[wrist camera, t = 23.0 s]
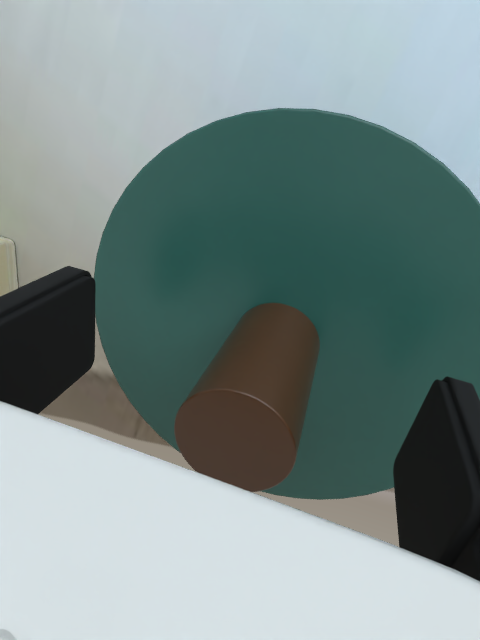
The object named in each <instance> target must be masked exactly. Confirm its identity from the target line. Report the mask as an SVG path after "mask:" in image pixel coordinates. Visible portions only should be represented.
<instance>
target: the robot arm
mask: <svg viewBox="0 0 480 640" xmlns="http://www.w3.org/2000/svg"><path fill="white" fill-rule="evenodd" d="M95 294H96V283H95V280H94V279H93V278H91V274H90V273H89V272H88V271H85V270H81V269H78V268H74V267H71V266H67V267H64V268H62V269H60V270H58V271H55V272H53V273H51V274H49V275H47V276H44V277H42V278H40V279H38V280H36V281H33V282H31V283H29V284H27V285H24V286H22V287H20V288H18V289H16V290H13V291H11V292H9V293H7V294H5V295H2V296H0V640H480V400H479V397H478V395H477V393H476V390H475V388H474V386H473V384H472V383H468V382H465V381H462V380H458V379H455V378H451V377H448V376H447V377H445V378H444V379H443V380H442V381H441V380H438V379H436V380H435V381H434V382H433V384H432V386H431V388H430V390H429V392H428V394H427V396H426V398H425V400H424V402H423V404H422V406H421V408H420V410H419V412H418V414H417V416H416V418H415V420H414V422H413V424H412V426H411V428H410V430H409V432H408V434H407V436H406V438H405V440H404V442H403V444H402V446H401V448H400V450H399V452H398V454H397V456H396V459H395V462H394V466H393V477H394V488H395V500H396V512H397V523H398V534H399V546H400V547H398V546H395V545H393V544H390V543H388V542H385V541H382V540H380V539H377V538H374V537H371V536H369V535H366V534H363V533H361V532H358V531H355V530H353V529H350V528H347V527H345V526H342V525H339V524H336V523H334V522H331V521H328V520H326V519H323V518H320V517H318V516H315V515H312V514H309V513H306V512H304V511H301V510H299V509H296V508H293V507H290V506H288V505H285V504H282V503H280V502H277V501H274V500H271V499H269V498H266V497H263V496H261V495H258V494H255V493H253V492H250V491H247V490H244V489H242V488H239V487H236V486H233V485H231V484H228V483H225V482H222V481H220V480H217V479H214V478H211V477H209V476H206V475H203V474H200V473H198V472H195V471H192V470H189V469H186V468H183V467H181V466H178V465H175V464H173V463H170V462H167V461H164V460H162V459H159V458H156V457H153V456H151V455H148V454H145V453H142V452H140V451H137V450H134V449H131V448H129V447H126V446H123V445H120V444H118V443H115V442H112V441H109V440H107V439H104V438H101V437H99V436H96V435H93V434H90V433H88V432H85V431H82V430H79V429H77V428H74V427H71V426H68V425H66V424H62V423H60V422H57V421H55V420H52V419H49V418H46V417H44V416H41V415H38V414H39V413H40V412H41V411H42V410H43V409H44V408H46V407H47V406H48V405H49V404H50V403H51V402H52V401H54V400H55V399H56V398H57V397H58V396H59V395H61V394H62V393H63V392H64V391H65V390H66V389H68V388H69V387H70V386H71V385H72V384H73V383H74V382H76V381H77V380H78V379H79V378H80V377H81V376H83V375H84V374H85V373H86V372H87V371H88V370H89V369H90V368H91V367H92V365H93V362H94V357H95Z"/></svg>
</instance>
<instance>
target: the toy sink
mask: <svg viewBox="0 0 480 640" xmlns="http://www.w3.org/2000/svg"><path fill="white" fill-rule="evenodd" d="M16 289H18V281H17V268H16V256H15V244H14V242H13V241H12V240H10V239H7V238H4V237H1V236H0V296H2V295H5V294H7V293H9V292H11V291H13V290H16Z"/></svg>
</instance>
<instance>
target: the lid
mask: <svg viewBox="0 0 480 640" xmlns="http://www.w3.org/2000/svg"><path fill="white" fill-rule="evenodd" d="M94 280H95V283H96V294H95V315H96V323H97V327H98V331H99V335H100V339H101V343H102V346H103V349H104V352H105V355H106V357H107V360H108V363H109V365H110V367H111V369H112V371H113V373H114V375H115V377H116V379H117V381H118V383H119V385H120V387H121V388H122V390H123V391H124V393H125V394H126V396H127V398H128V399H129V401H130V402H131V404H132V405H133V406H134V407H135V409H136V410H137V411H138V412H139V414H140V415H141V416H142V417H143V419H144V420H145V421H146V422H147V423H148V424H149V425H150V426H151V427H152V428H153V429H154V430H155V431H156V432H157V433H158V434H159V435H160V436H161V437H162V438H163V439H164V440H165V441H167V442H168V443H169V444H170V445H171V446H172V447H174V448H175V449H176V450H177V451H179V452H180V453H182V455H183V457H184V458H185V460H186V461H187V462H188V464H189V465H190V466H191V467H192V468H193V469H194V470H195V471H197V472H198V473H200V474H203V475H206V476H209V477H211V478H214V479H217V480H220V481H222V482H225V483H228V484H231V485H233V486H236V487H239V488H242V489H244V490H247V491H250V492H257V491H262V492H266V493H270V494H274V495H279V496H286V497H293V498H302V499H343V498H349V497H357V496H363V495H368V494H372V493H376V492H379V491H384V490H387V489H391V488H393V487H394V477H393V466H394V462H395V459H396V456H397V454H398V452H399V450H400V448H401V446H402V444H403V442H404V440H405V438H406V436H407V434H408V432H409V430H410V428H411V426H412V424H413V422H414V420H415V418H416V416H417V414H418V412H419V410H420V408H421V406H422V404H423V402H424V400H425V398H426V396H427V394H428V392H429V390H430V388H431V386H432V384H433V382H434V381H435V380H436V379H438V380H441V381H442V380H443V379H444V378H445V377H447V376H448V377H451V378H455V379H458V380H462V381H465V382H468V383H472V384H473V386H474V388H475V390H476V393H477V395H478V397H479V400H480V203H479V202H478V200H477V199H476V198H475V196H474V195H473V194H472V192H471V191H470V189H469V188H468V187H467V186H466V185H465V184H464V183H463V182H462V181H461V180H460V179H459V178H458V177H457V176H456V175H455V174H454V173H453V172H452V171H451V170H450V169H449V168H448V167H446V166H445V165H444V164H443V163H442V162H441V161H439V160H438V159H436V158H435V157H434V156H432V155H431V154H429V153H428V152H427V151H425V150H424V149H423V148H421V147H420V146H418V145H417V144H416V143H414V142H412V141H410V140H408V139H406V138H404V137H402V136H400V135H398V134H396V133H394V132H392V131H390V130H389V129H387V128H385V127H383V126H380V125H377V124H374V123H371V122H368V121H365V120H362V119H359V118H356V117H353V116H350V115H345V114H339V113H334V112H328V111H322V110H317V109H293V108H277V109H269V110H261V111H253V112H246V113H242V114H239V115H235V116H232V117H228V118H224V119H221V120H217V121H215V122H212V123H210V124H208V125H206V126H203V127H201V128H199V129H197V130H195V131H192V132H190V133H188V134H186V135H185V136H183V137H182V138H180V139H179V140H177V141H176V142H174V143H173V144H171V145H170V146H168V147H166V148H165V149H163V150H162V151H161V152H160V153H159V154H158V155H157V156H156V157H154V158H153V159H152V160H151V161H150V162H149V163H148V164H147V165H145V166H144V167H143V168H142V170H141V171H140V172H139V173H138V174H137V175H136V177H135V178H134V179H133V180H132V181H131V183H130V184H129V185H128V186H127V187H126V189H125V191H124V192H123V194H122V196H121V197H120V199H119V200H118V202H117V204H116V205H115V207H114V209H113V210H112V213H111V215H110V217H109V220H108V222H107V224H106V227H105V229H104V231H103V234H102V238H101V242H100V245H99V249H98V253H97V258H96V265H95V273H94Z"/></svg>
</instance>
